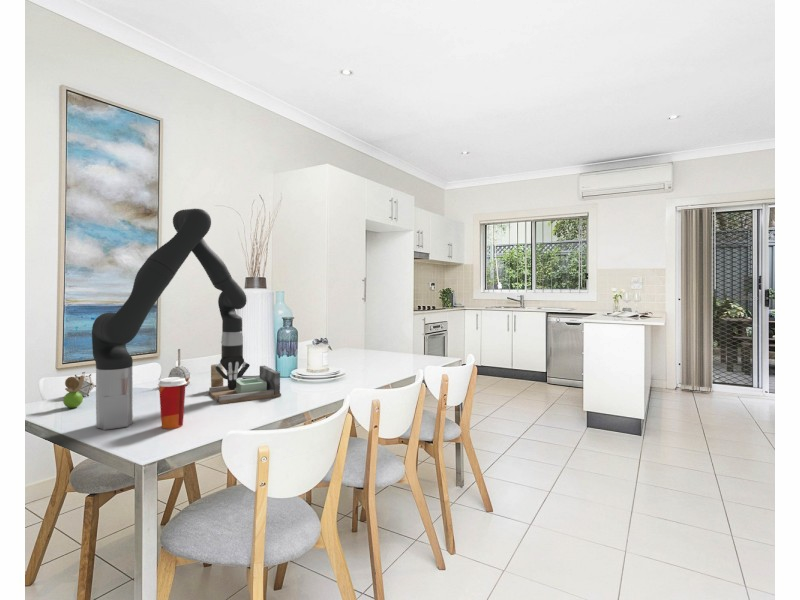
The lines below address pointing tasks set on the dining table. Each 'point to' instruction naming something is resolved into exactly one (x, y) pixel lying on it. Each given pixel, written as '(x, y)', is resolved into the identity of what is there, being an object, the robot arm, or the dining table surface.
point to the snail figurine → (73, 391)
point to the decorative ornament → (180, 371)
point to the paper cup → (172, 401)
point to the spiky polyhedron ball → (86, 385)
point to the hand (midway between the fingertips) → (232, 389)
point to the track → (230, 396)
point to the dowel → (216, 377)
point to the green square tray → (250, 385)
